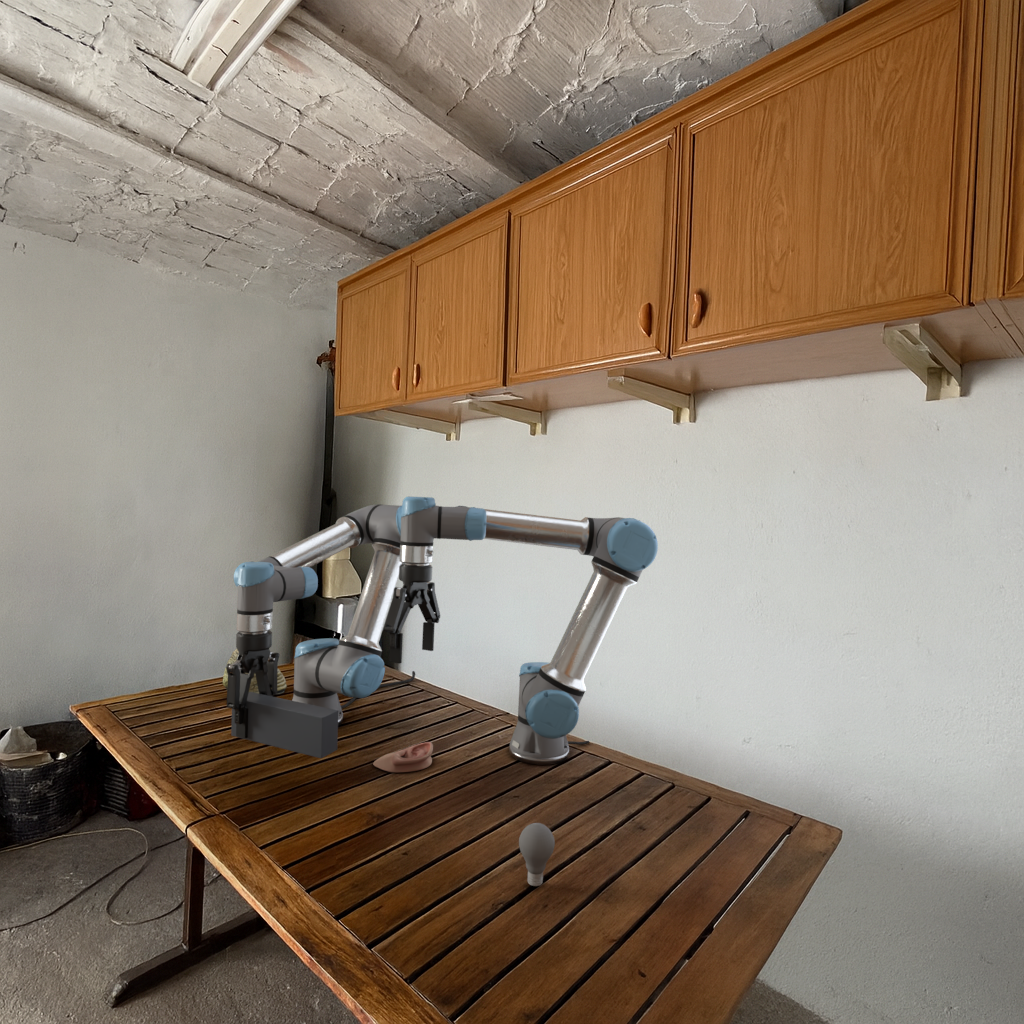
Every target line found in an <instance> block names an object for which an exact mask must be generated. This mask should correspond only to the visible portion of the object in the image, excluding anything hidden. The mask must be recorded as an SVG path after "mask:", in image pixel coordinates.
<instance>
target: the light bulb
mask: <svg viewBox="0 0 1024 1024" xmlns="http://www.w3.org/2000/svg"><path fill="white" fill-rule="evenodd" d="M555 845H556V841H555V836H554V835H553V832H552V831H551V829H550V828H549V827H548V826H546V824H544V823H541V822H533V823H530V824H528V825H526V826H525V827H524V828H523V830H522V831H521V833H520V835H519V837H518V846H519V847H518V848H519V851H520V853H521V855H522V857H523V859H524V861H525V867H526V870H527V880H526V881H527V883H528V884H529V885H530V886H531V887H532V886H533V887H540V886H542V885H543V883H544V882H543V881H544V872H545V870H546V866H547V863H548V861H549V860H550V858H551V856H552V855H553V853H554V850H555Z"/></svg>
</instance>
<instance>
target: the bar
mask: <svg viewBox="0 0 1024 1024" xmlns="http://www.w3.org/2000/svg"><path fill="white" fill-rule="evenodd" d="M273 696H274V695H273ZM273 696H268V695H263V694H259V693H254V692H249V693H248V697H247V702H246V707H245V708H248V738H241V737H237V736H236V723H235V721H234V720H235V710H234V709H232V708H231V727H230V728H231V732H230V736H231V737H236V738H239V739H243V740H247V741H251V742H255V743H260V744H263V745H265V746H270V747H274V748H277V749H283V750H287V751H290V752H294V753H298V754H301V755H305V756H310V757H314V758H317V759H323V758H325V757H327V756H329V755H330V754H332V753H334V752H337V751H338V745H339V744H338V740H339V726H338V710H334V709H329V708H324V707H320V706H315V705H310V704H306V703H301V702H296V701H292V699H286V698H280V697H276V696H274V697H273Z"/></svg>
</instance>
